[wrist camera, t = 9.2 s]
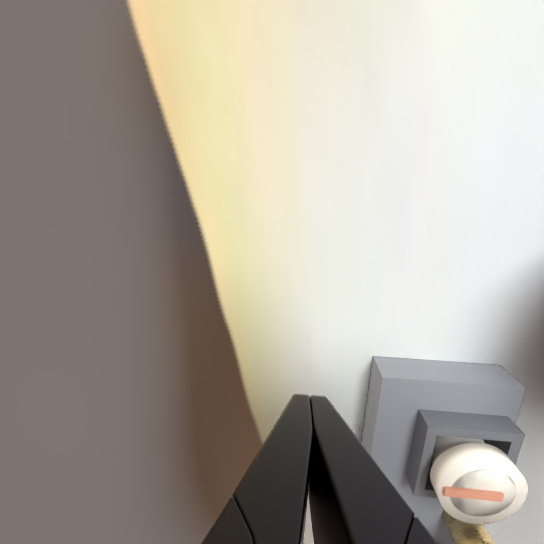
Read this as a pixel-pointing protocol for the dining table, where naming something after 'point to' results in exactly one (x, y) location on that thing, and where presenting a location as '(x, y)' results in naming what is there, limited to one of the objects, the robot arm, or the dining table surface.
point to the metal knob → (466, 531)
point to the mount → (435, 422)
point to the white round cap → (476, 480)
